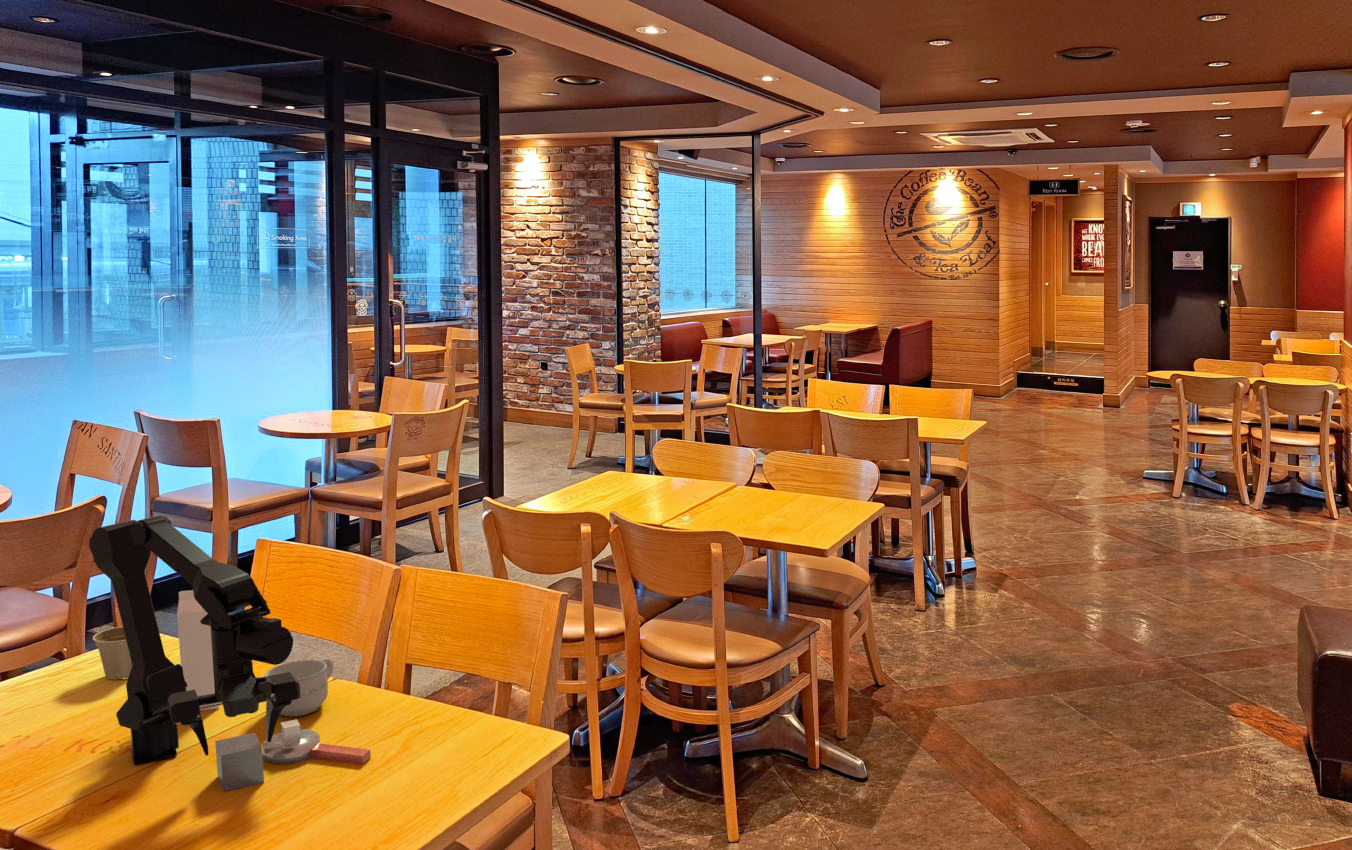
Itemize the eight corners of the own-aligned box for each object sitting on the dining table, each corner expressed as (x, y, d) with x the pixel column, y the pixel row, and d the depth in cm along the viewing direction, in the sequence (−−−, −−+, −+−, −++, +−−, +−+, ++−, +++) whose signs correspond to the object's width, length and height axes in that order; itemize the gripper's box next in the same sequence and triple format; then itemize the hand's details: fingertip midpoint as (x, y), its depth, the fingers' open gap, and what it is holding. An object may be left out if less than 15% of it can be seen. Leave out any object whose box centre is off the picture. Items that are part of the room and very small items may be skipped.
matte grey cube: (223, 791, 166) (220, 755, 165) (217, 776, 171) (215, 740, 170) (264, 782, 169) (261, 746, 168) (257, 767, 174) (255, 732, 173)
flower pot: (85, 682, 210) (81, 640, 209) (117, 664, 219) (114, 624, 218) (128, 685, 208) (125, 642, 207) (159, 667, 218) (156, 626, 216)
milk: (219, 708, 197) (211, 593, 194) (183, 712, 196) (175, 596, 192) (223, 696, 203) (216, 583, 200) (188, 699, 202) (181, 586, 198)
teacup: (289, 727, 189) (286, 684, 188) (254, 712, 196) (252, 670, 195) (355, 701, 200) (353, 661, 199) (320, 688, 207) (318, 648, 206)
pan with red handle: (251, 760, 177) (250, 732, 176) (284, 737, 185) (282, 710, 184) (352, 773, 172) (350, 744, 171) (380, 749, 181) (379, 721, 180)
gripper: (172, 682, 156) (179, 783, 158) (305, 658, 165) (310, 754, 167) (164, 658, 165) (171, 753, 167) (290, 637, 174) (295, 727, 177)
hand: (238, 747), depth 169 cm, fingers open, 9 cm apart
